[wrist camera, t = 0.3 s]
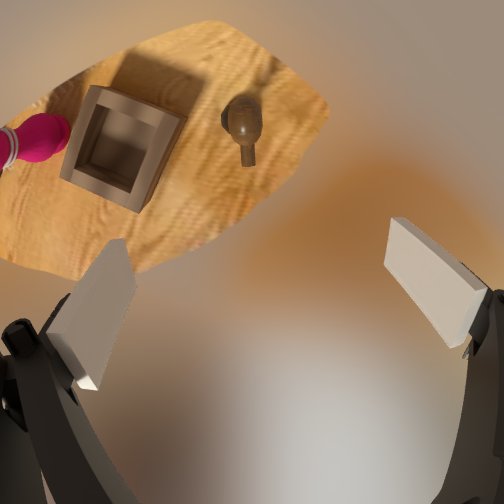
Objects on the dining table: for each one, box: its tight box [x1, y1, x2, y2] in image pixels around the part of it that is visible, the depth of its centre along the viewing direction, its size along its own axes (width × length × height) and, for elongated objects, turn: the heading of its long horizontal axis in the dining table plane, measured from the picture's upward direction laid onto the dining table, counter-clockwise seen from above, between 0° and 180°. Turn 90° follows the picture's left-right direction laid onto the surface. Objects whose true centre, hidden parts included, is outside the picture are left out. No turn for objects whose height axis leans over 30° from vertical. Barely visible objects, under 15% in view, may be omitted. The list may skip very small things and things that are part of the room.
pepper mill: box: [0, 113, 70, 171], centre depth 24 cm, size 7×7×20 cm
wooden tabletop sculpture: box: [221, 96, 263, 167], centre depth 27 cm, size 6×5×20 cm
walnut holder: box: [59, 85, 187, 214], centre depth 33 cm, size 13×13×6 cm
